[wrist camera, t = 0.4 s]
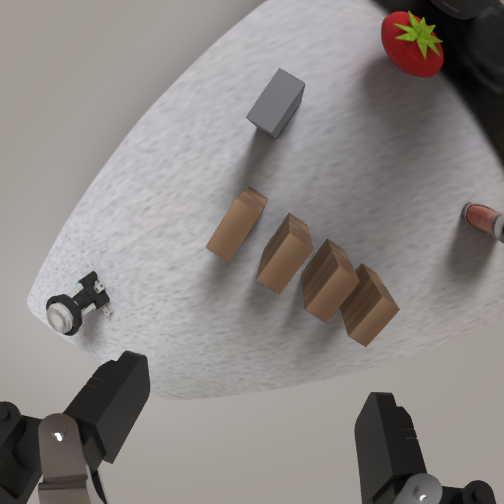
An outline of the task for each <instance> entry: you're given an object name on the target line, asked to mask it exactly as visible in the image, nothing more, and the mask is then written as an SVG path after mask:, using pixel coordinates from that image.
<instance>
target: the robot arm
mask: <svg viewBox="0 0 504 504" xmlns="http://www.w3.org/2000/svg"><path fill="white" fill-rule="evenodd" d="M430 1H431V2H432V3H433V4H434V5H435V6H436V7H437V8H438V9H440V10H441V11H443V12H444V13H446V14H448V15H449V16H451V17H454V18H457V19H461V20H468V19H470V18H472V17H474V16H476V15H477V14H479V13H480V12H482V11H483V10H485V9H487V8H488V7H490V6H492V5H493V4H495V3H497V2H498V1H500V0H430ZM149 393H150V378H149V370H148V362H147V357H146V356H145V355H141V354H138V353H134V352H131V351H125V352H124V353H123V354H122V355H121V356H120V358H119V359H118V360H117V361H114V360H110V361H108V362H106V363H105V364H103V365H102V366H100V367H99V368H98V369H97V370H96V372H95V373H94V374H93V375H92V378H90V379H89V381H88V382H87V384H86V385H85V386H84V387H83V388H82V389H81V391H80V392H79V393H78V394H77V396H76V397H75V398H74V400H73V401H72V402H71V403H70V405H69V406H68V407H67V409H66V410H65V411H64V412H63V413H55V414H51V415H49V416H47V417H45V418H44V419H38V418H33V417H29V416H24V415H21V413H20V411H19V409H18V408H17V407H16V406H15V405H14V404H12V403H10V402H6V401H5V402H0V467H1V468H0V504H26V503H27V501H28V499H29V497H30V496H31V494H32V492H33V490H34V488H35V486H36V485H37V483H38V481H39V479H40V478H41V476H42V474H43V482H42V483H39V484H38V495H39V501H40V504H110V503H109V500H108V497H107V494H106V491H105V488H104V484H103V481H102V478H101V474H100V470H99V465H100V463H101V462H102V460H104V461H106V462H109V463H112V464H113V462H114V460H115V458H116V456H117V455H118V453H119V451H120V449H121V447H122V445H123V443H124V441H125V440H126V438H127V436H128V434H129V432H130V430H131V429H132V427H133V425H134V423H135V421H136V420H137V418H138V416H139V414H140V412H141V410H142V409H143V407H144V405H145V403H146V401H147V399H148V397H149ZM416 438H417V436H416V432H415V430H414V426H413V423H412V419H411V416H410V415H409V414H408V413H407V412H406V410H405V409H404V408H403V407H397V406H396V403H395V399H394V396H393V394H392V393H385V392H371V393H370V394H369V396H368V398H367V400H366V402H365V404H364V406H363V408H362V410H361V412H360V414H359V416H358V418H357V420H356V424H355V441H356V449H357V457H358V466H359V475H360V485H361V496H362V504H496V501H495V497H494V493H493V490H492V488H491V487H490V486H489V485H488V484H487V483H486V482H484V481H480V480H476V481H472V482H470V483H469V484H468V485H467V486H465V487H464V488H454V487H445V486H441V483H440V482H439V481H438V479H437V478H435V477H434V476H432V475H430V474H428V473H427V471H426V467H425V463H424V460H423V456H422V453H421V449H420V446H419V442H418V439H416Z"/></svg>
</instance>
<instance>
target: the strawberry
mask: <svg viewBox="0 0 504 504" xmlns="http://www.w3.org/2000/svg"><path fill="white" fill-rule="evenodd" d="M435 26H436V25H432V26H428V25H427V24H426V23H425V19H424V17H423V18H422V20H421V19H419V18H418V17H416V16H414V15H412V14H411V13H410V12H409V11H408V13H406V12H395V13H392V14H390V15H388V16H387V17H386V18H385V19H384V20H383V23H382V28H381V39H382V44H383V47H384V49H385V51H386V53H387V54H388V56H389V57H390V59H391V60H392V61H393V62H394V63H395V64H396V65H397V66H398V67H399V68H400V69H401V70H403V71H404V72H406V73H408V74H410V75H413V76H418V77H432V76H434V75H435V74H437V72H438V71H439V70H440V68H441V67H442V64H443V58H444V56H443V50H442V47H441V44H440V42H443V41H441V40H439V39H438V38H437V37H436V35H435V34H434V32H433V31H432V30H433V29H434V27H435Z"/></svg>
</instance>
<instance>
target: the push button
mask: <svg viewBox="0 0 504 504" xmlns="http://www.w3.org/2000/svg"><path fill="white" fill-rule="evenodd" d="M76 284H77V285H76V288H75V289H74V290H73V291H71V292H70V293H68V294H67V295H65V294H62V295H58V296H53V297H51V298H50V299H49V300H48V301H47V304H46V311H47V313H46V314H47V319H48V321H49V323H50V325H51V326H52V328H53V329H54V330H55V331H57V332H59V333H62V334H65V335H68V336H72V335H74V334H75V333H77V331H78V330H79V327H80V326H81V324H82V317H83V316H85V315H86V314H87V313H88V312H89V311H90V310H91V311H95V310H96V309H98V308H100V309H101V310H103V312H104V313H105V311H107V313H105V315H106V316H108V315H110V313H111V312H113V310H112V309H111V307H110V306H109V303H108V302H107V301H109V297H108V295H107V294H106V292H105V291H104V289H105V286H104V284H103V283H102V282H100V283H99V281H98V279H97V274H96V273H95V271H93V272H91V273H90V274H88V275H87V276H85V277H84V278H82V279H81V280H79V281H78V282H77V283H76ZM101 285H102V286H103V287H102V286H101ZM78 292H79V293H78ZM77 293H78V294H77ZM75 294H76V295H75ZM74 295H75V296H74ZM73 296H74V297H73ZM71 297H73V298H71ZM85 307H86V308H85ZM83 308H85V309H84V310H82V309H83ZM108 308H110V311H109V310H108ZM81 310H82V311H81ZM73 325H74V326H73Z"/></svg>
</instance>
